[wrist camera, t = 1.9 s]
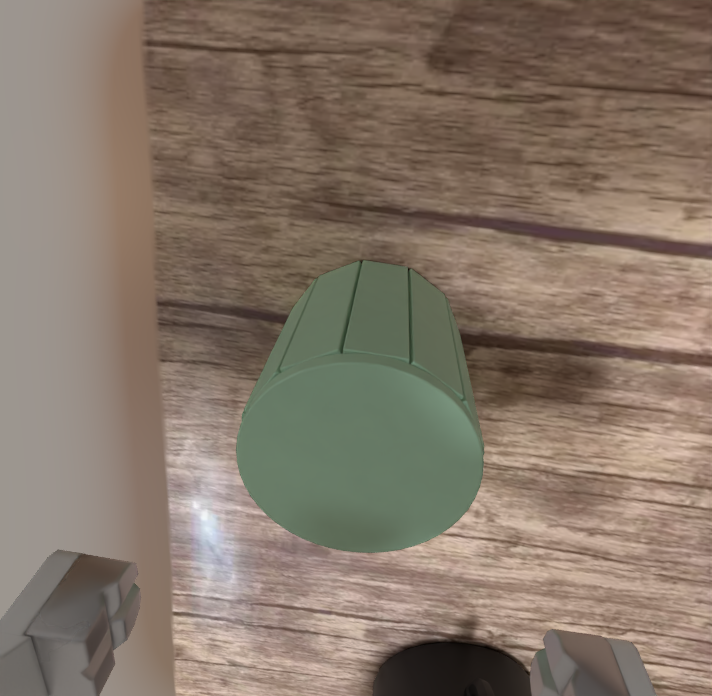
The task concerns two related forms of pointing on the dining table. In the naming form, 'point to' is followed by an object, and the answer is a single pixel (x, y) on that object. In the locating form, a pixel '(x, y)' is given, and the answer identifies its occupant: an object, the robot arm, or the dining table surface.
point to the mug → (451, 673)
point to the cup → (364, 415)
